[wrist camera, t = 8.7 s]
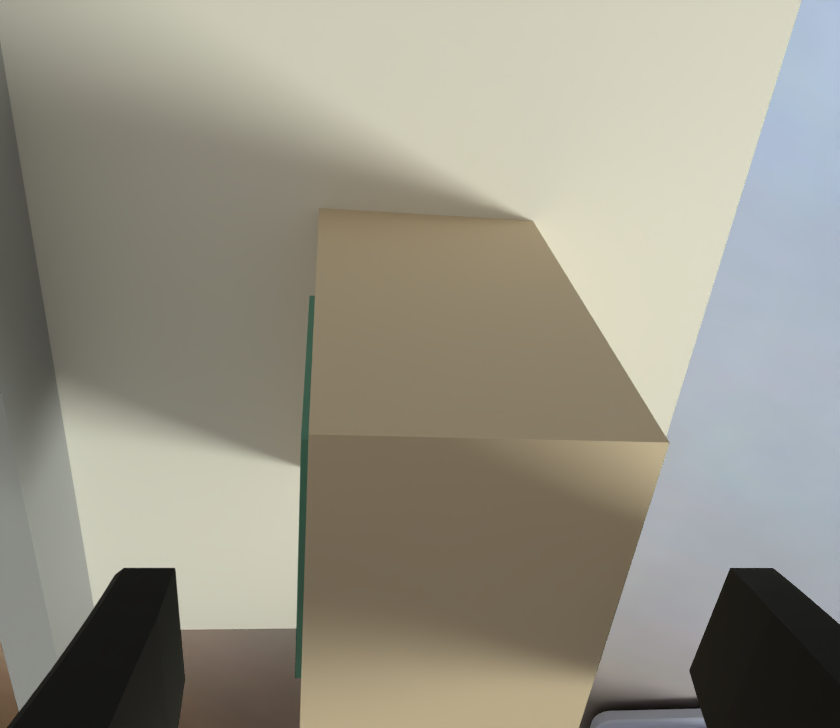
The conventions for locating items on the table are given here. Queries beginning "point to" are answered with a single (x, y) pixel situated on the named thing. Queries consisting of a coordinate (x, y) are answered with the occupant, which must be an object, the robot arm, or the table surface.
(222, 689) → the table surface
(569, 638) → the carton
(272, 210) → the shelf board
